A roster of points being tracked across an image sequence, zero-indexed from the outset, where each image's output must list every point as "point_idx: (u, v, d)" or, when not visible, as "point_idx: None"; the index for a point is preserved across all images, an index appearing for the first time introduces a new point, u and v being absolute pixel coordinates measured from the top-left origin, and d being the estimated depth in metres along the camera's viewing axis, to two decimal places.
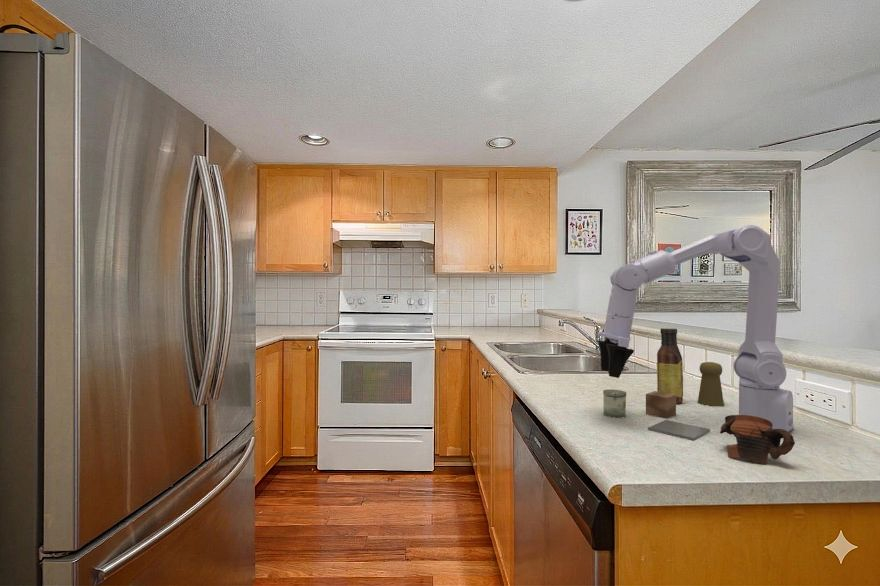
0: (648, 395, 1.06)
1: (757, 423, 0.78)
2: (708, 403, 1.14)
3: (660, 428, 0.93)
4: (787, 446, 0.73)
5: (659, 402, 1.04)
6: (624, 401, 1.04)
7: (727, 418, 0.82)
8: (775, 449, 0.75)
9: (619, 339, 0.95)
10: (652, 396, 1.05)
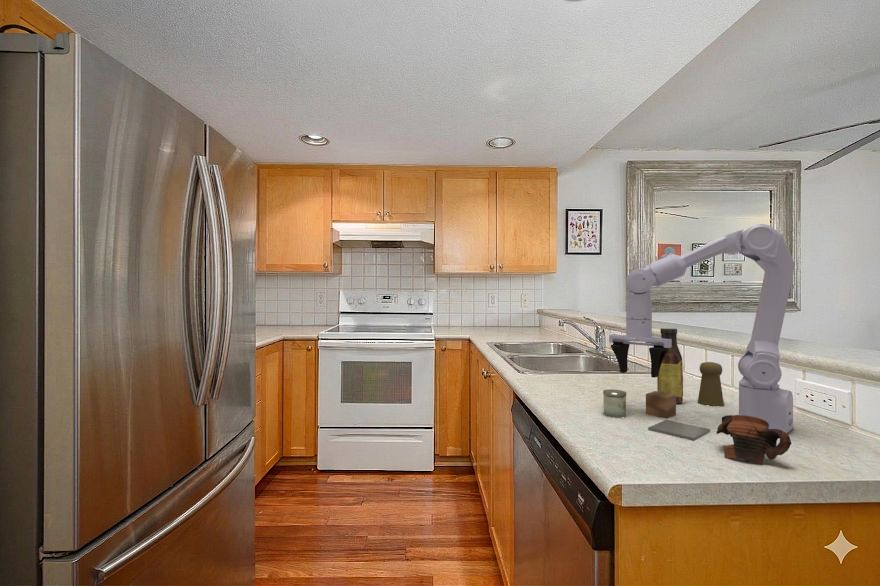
0: (648, 395, 1.06)
1: (754, 423, 0.78)
2: (708, 403, 1.14)
3: (660, 428, 0.93)
4: (784, 446, 0.73)
5: (659, 402, 1.04)
6: (624, 401, 1.04)
7: (724, 418, 0.82)
8: (772, 449, 0.75)
9: (665, 341, 1.01)
10: (652, 396, 1.05)
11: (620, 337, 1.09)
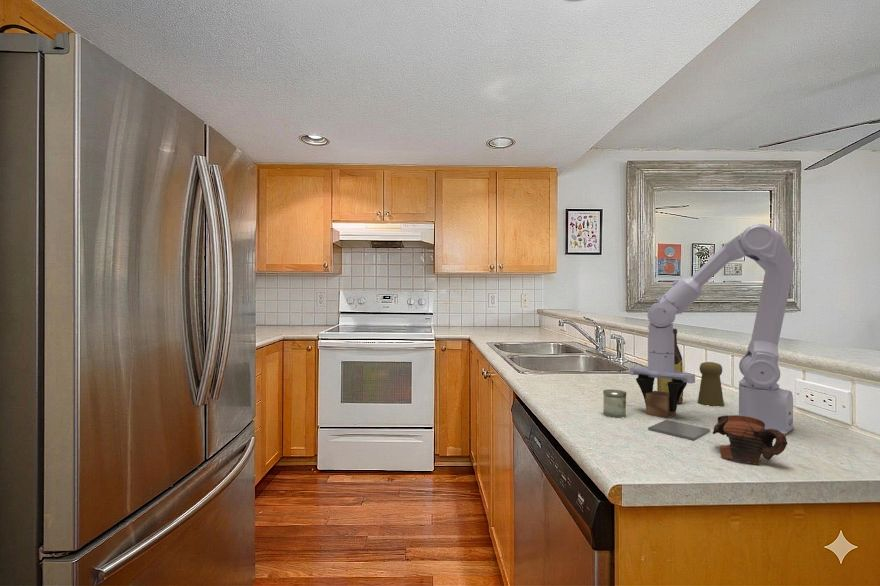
0: (648, 395, 1.06)
1: (750, 423, 0.78)
2: (708, 403, 1.14)
3: (660, 428, 0.93)
4: (780, 446, 0.73)
5: (659, 402, 1.04)
6: (624, 401, 1.04)
7: (720, 418, 0.82)
8: (768, 449, 0.75)
9: (689, 377, 1.00)
10: (652, 396, 1.05)
11: (641, 370, 1.08)
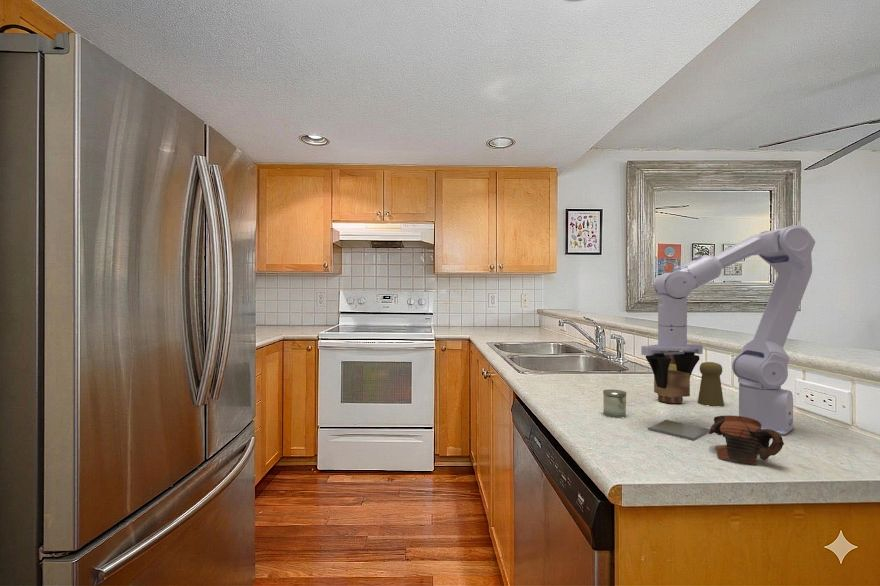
0: (672, 375, 0.95)
1: (746, 424, 0.78)
2: (708, 403, 1.14)
3: (660, 428, 0.93)
4: (776, 447, 0.73)
5: (682, 380, 0.96)
6: (624, 401, 1.04)
7: (716, 419, 0.82)
8: (764, 450, 0.74)
9: (701, 347, 0.98)
10: (676, 375, 0.95)
11: (664, 348, 0.95)
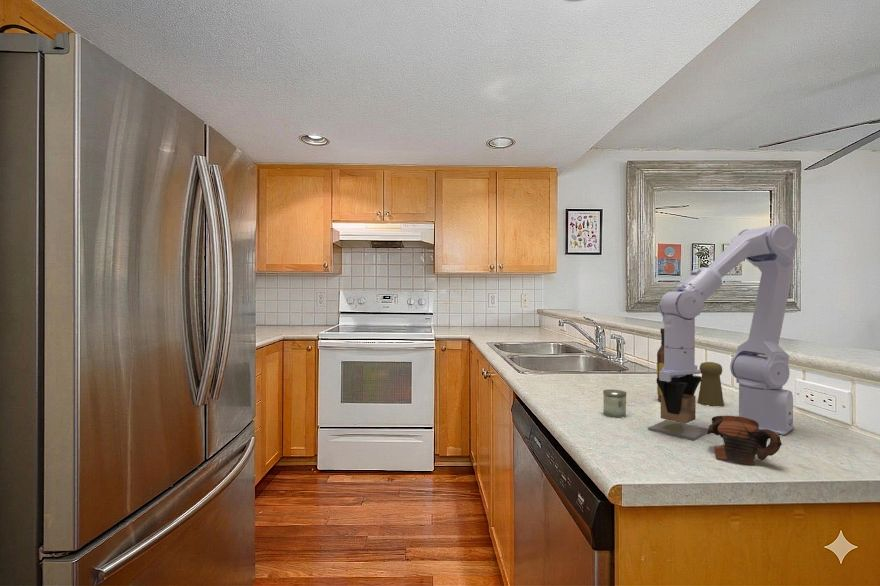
0: (686, 400, 0.90)
1: (744, 424, 0.78)
2: (708, 403, 1.14)
3: (660, 428, 0.93)
4: (774, 447, 0.73)
5: (691, 404, 0.92)
6: (624, 401, 1.04)
7: (714, 419, 0.82)
8: (762, 450, 0.74)
9: (696, 367, 0.97)
10: (688, 399, 0.91)
11: (681, 372, 0.90)
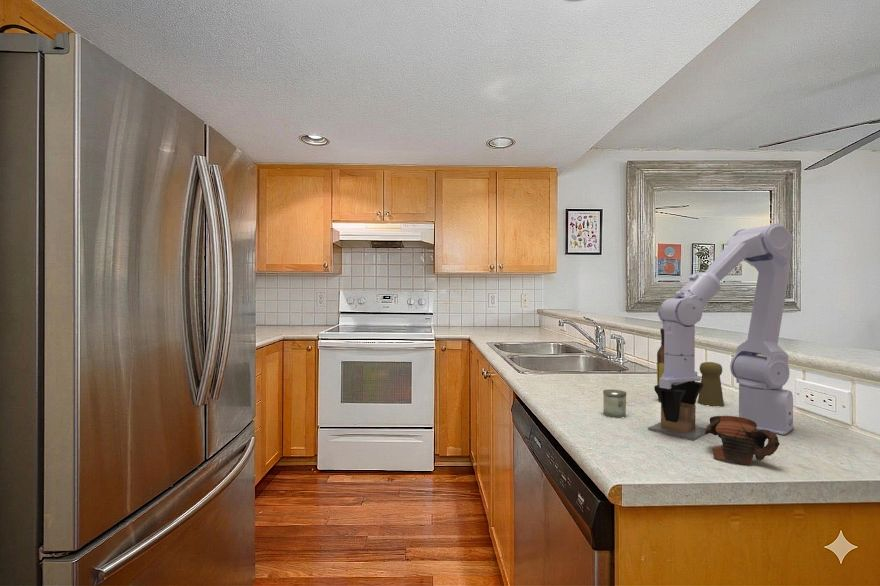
0: (687, 409, 0.90)
1: (742, 424, 0.77)
2: (708, 403, 1.14)
3: (660, 428, 0.93)
4: (772, 447, 0.73)
5: (692, 413, 0.92)
6: (624, 401, 1.04)
7: (712, 419, 0.82)
8: (760, 450, 0.74)
9: (696, 374, 0.97)
10: (689, 409, 0.91)
11: (681, 379, 0.90)
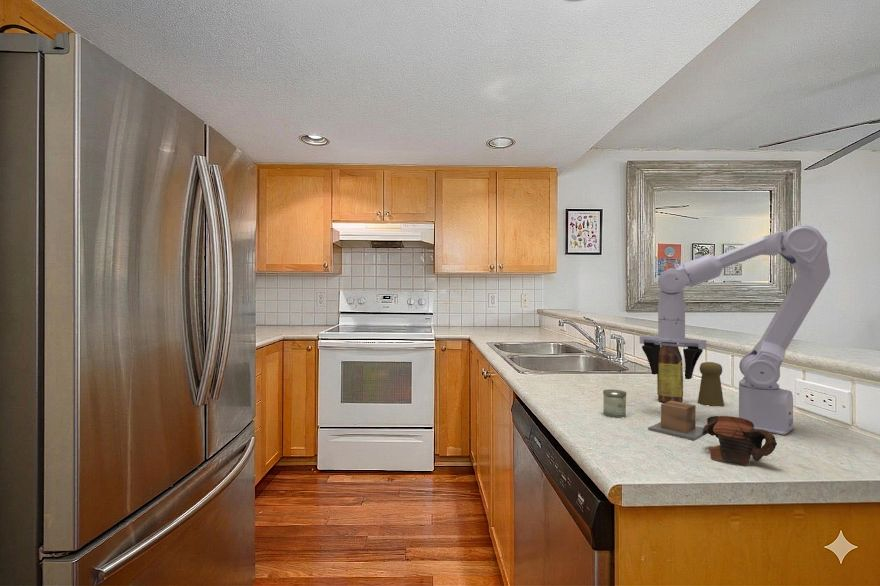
0: (687, 409, 0.90)
1: (739, 424, 0.77)
2: (708, 403, 1.14)
3: (660, 428, 0.93)
4: (769, 447, 0.73)
5: (692, 413, 0.92)
6: (624, 401, 1.04)
7: (709, 419, 0.81)
8: (757, 450, 0.74)
9: (700, 342, 0.99)
10: (689, 409, 0.91)
11: (652, 338, 1.07)
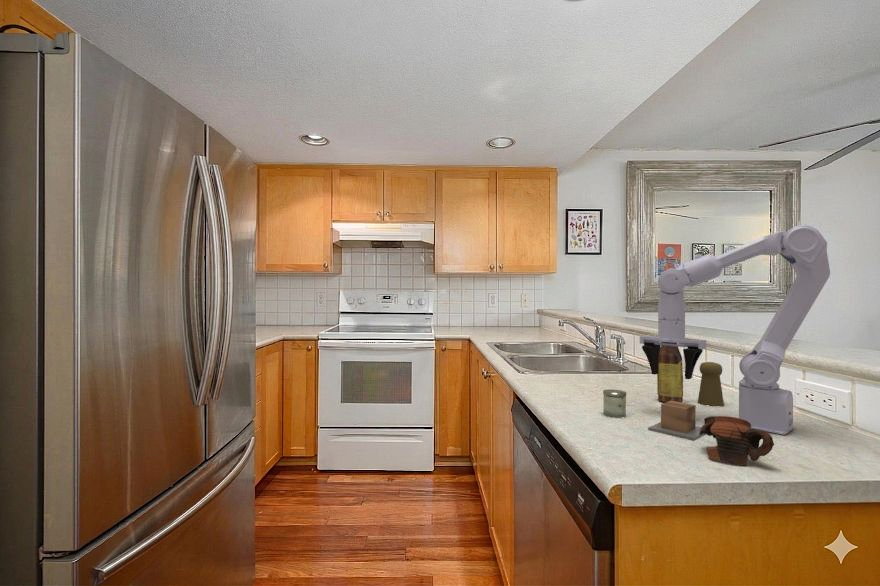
0: (687, 409, 0.90)
1: (736, 424, 0.77)
2: (708, 403, 1.14)
3: (660, 428, 0.93)
4: (767, 447, 0.73)
5: (692, 413, 0.92)
6: (624, 401, 1.04)
7: (706, 419, 0.81)
8: (755, 450, 0.74)
9: (700, 342, 0.99)
10: (689, 409, 0.91)
11: (652, 338, 1.07)
